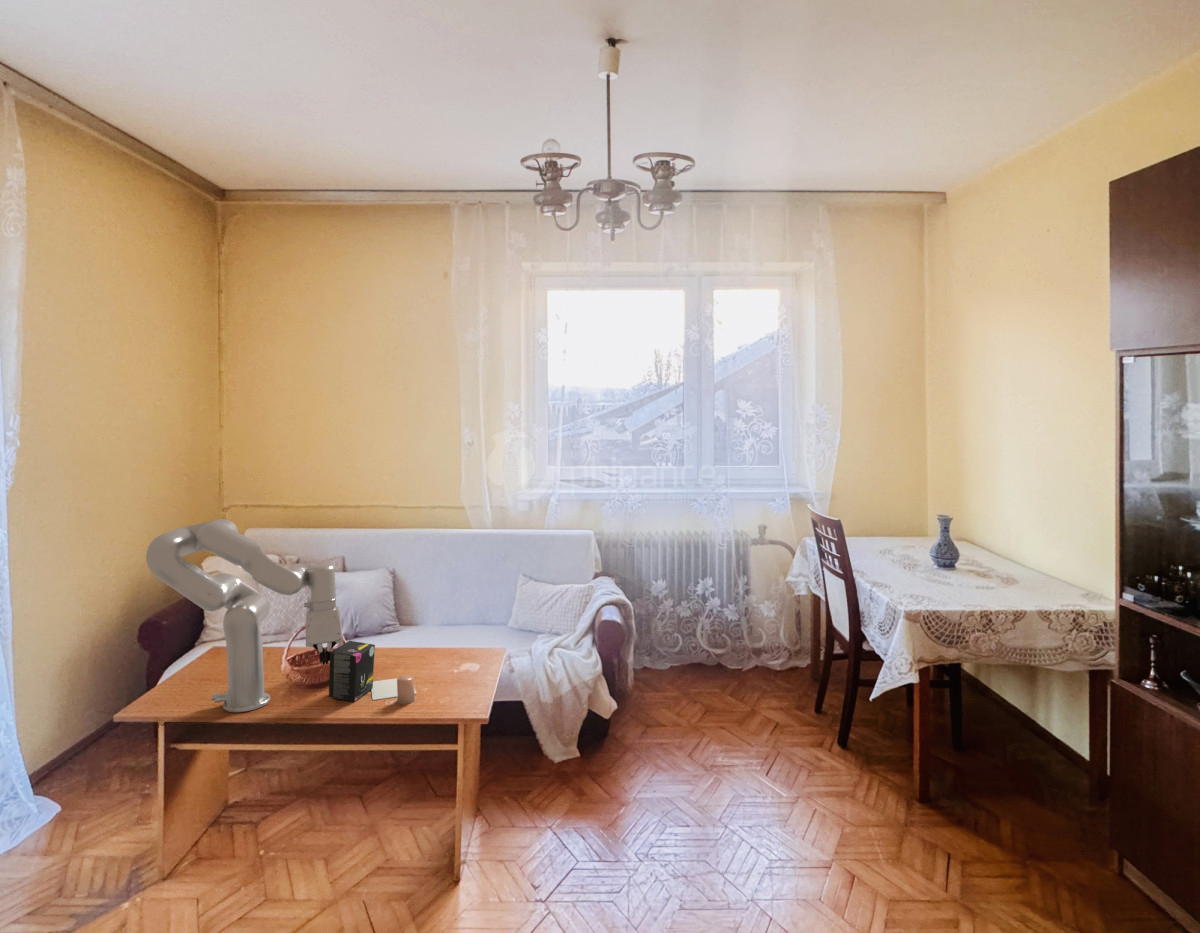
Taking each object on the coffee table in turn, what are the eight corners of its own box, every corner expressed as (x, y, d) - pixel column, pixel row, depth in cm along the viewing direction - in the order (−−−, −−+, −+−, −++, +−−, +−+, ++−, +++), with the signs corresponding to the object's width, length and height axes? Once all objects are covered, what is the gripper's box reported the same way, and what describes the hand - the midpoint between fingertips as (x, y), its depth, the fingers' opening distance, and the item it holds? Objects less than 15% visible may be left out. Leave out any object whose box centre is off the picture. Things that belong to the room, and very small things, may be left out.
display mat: (372, 700, 201) (372, 699, 201) (370, 682, 215) (370, 681, 215) (416, 694, 206) (416, 693, 206) (411, 676, 220) (411, 676, 220)
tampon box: (354, 702, 199) (356, 656, 198) (327, 697, 201) (329, 651, 200) (374, 687, 210) (375, 643, 209) (348, 683, 212) (349, 639, 210)
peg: (398, 705, 198) (397, 682, 197) (396, 698, 202) (396, 676, 202) (415, 702, 199) (414, 680, 199) (413, 696, 204) (413, 674, 204)
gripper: (295, 611, 195) (298, 671, 196) (349, 605, 200) (351, 663, 202) (296, 604, 202) (299, 662, 203) (348, 599, 207) (351, 655, 209)
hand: (325, 663), depth 202 cm, fingers closed
